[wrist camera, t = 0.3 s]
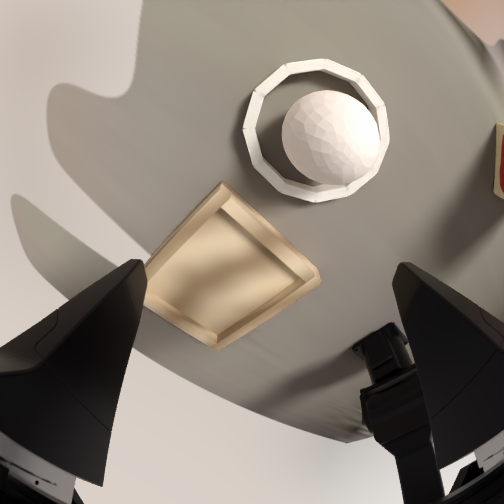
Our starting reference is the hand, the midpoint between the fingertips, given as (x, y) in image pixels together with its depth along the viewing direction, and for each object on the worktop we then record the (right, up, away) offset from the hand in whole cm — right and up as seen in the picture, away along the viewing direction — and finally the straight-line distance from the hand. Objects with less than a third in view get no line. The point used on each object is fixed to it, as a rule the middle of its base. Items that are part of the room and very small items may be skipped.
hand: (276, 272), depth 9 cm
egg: (+4, +10, +10) cm, 14 cm away
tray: (-4, -1, +17) cm, 17 cm away
